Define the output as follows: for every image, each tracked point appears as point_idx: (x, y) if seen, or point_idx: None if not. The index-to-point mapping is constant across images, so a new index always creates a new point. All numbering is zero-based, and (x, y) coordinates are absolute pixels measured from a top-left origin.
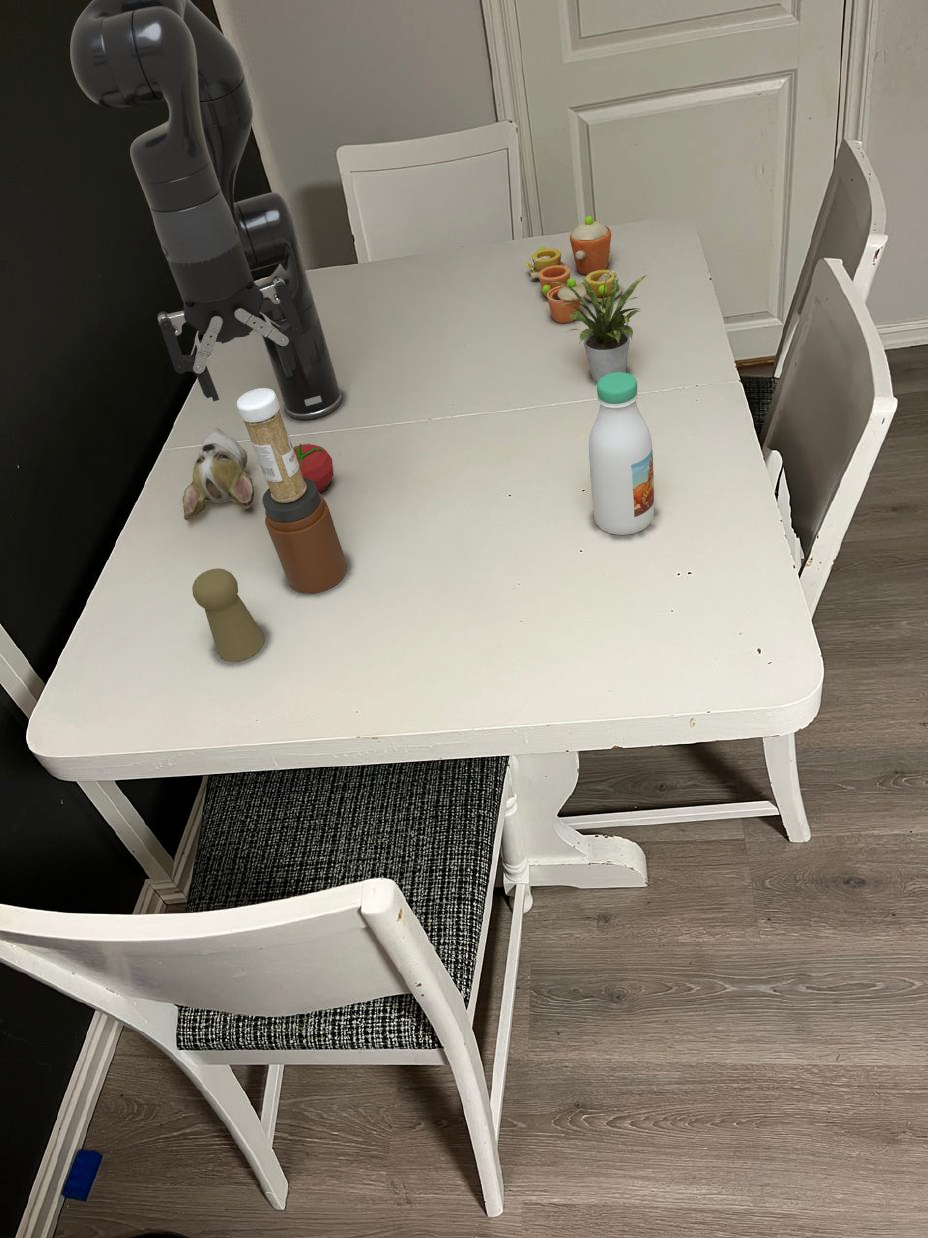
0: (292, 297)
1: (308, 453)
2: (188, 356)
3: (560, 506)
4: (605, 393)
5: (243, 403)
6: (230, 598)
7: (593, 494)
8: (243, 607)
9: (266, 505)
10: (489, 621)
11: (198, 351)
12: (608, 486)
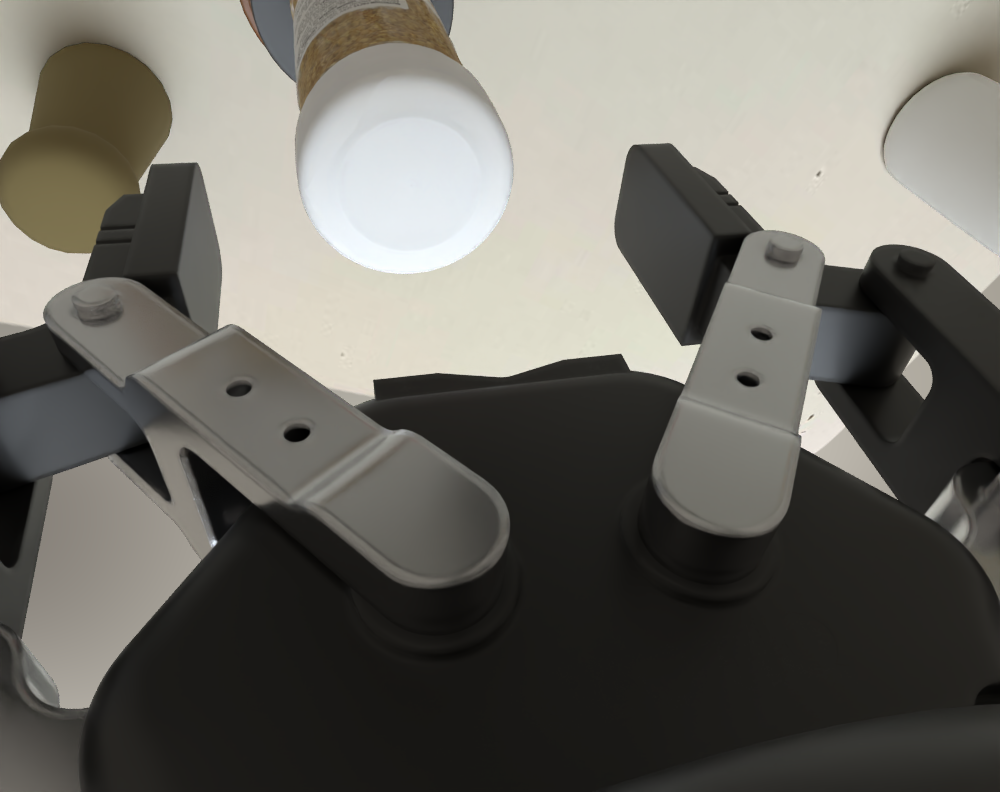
0: None
1: None
2: (52, 398)
3: (899, 21)
4: None
5: (340, 212)
6: None
7: (936, 158)
8: (141, 169)
9: (264, 30)
10: (601, 263)
11: (185, 533)
12: (955, 218)
